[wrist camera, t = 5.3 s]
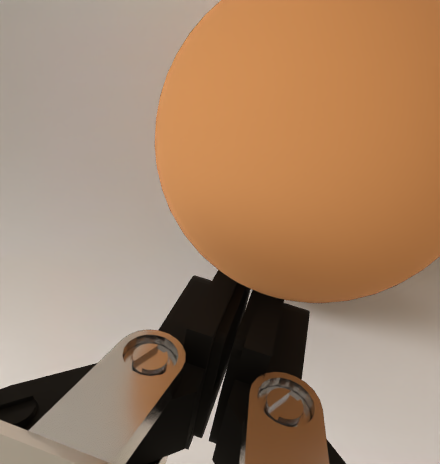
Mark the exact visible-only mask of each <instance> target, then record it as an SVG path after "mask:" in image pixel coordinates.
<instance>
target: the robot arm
mask: <svg viewBox="0 0 440 464" xmlns="http://www.w3.org/2000/svg"><path fill="white" fill-rule="evenodd" d="M249 293H250V288H248V287H246V286H244V285H242V284H240V283H238V282H236V281H235V280H233V279H231V278H230V277H228V276H227V275H225V274H224V273H222V272H221V271H220V270H218V271H217V273H216V275H215V277H214V279H213V281H211V280H208V279H204V278H201V277H198V276H193V277H192V278H191V280H190V281H189V283H188V285H187V286H186V288H185V289H184V291H183V292H182V294H181V296H180V297H179V299H178V300H177V302H176V303H175V305H174V307H173V308H172V310H171V311H170V313H169V314H168V316H167V318H166V319H165V321H164V322H163V324H162V325H161V327H160V329H159V330H142V331H137V332H134V333H131V334H129V335H128V336H126V337H125V338H123V339H122V340H121V341H120V342H119V343H118V344H117V345H116V346H115V347H114V348H113V349H112V350H111V351H110V352H109V353H108V354H106V355H105V356H104V357H103V358H102V359H101V360H100V361H99V362H98V363H96V364H92V365H88V366H84V367H81V368H77V369H73V370H69V371H65V372H61V373H57V374H53V375H50V376H46V377H42V378H38V379H34V380H30V381H26V382H23V383H19V384H15V385H11V386H8V387H5V388H3V389H0V464H165V463H166V461H167V458H168V455H170V454H173V453H175V452H178V451H180V450H183V449H185V448H186V449H189V447H190V444H191V441H192V439H193V436H197V437H200V438H202V436H203V434H204V431H205V428H206V425H207V423H208V420H209V417H210V414H211V411H212V409H213V406H214V403H215V400H216V397H217V394H218V392H219V389H220V386H221V383H222V380H223V377H224V375H225V378H224V382H223V386H222V390H221V394H220V398H219V402H218V406H217V410H216V414H215V418H214V422H213V426H212V429H211V433H210V437H209V441H210V442H213V443H216V447H215V451H214V455H213V459H212V460H213V462H214V463H215V464H346V463H345V462H344V461H343V459H342V458H341V457H340V456H339V454H338V453H337V452H336V450H335V449H334V448H333V447H332V445H331V444H330V443H329V442H328V440H327V439H326V433H325V424H324V416H323V409H322V405H321V402H320V399H319V398H318V396H317V394H316V393H315V391H314V390H313V389H312V388H311V387H310V386H309V385H308V384H307V383H306V382H304V381H302V380H301V379H302V371H303V363H304V355H305V347H306V339H307V331H308V322H309V313H310V312H309V311H308V310H305V309H302V308H298V307H295V306H292V305H289V304H286V303H284V299H279V298H276V297H272V296H268V295H265V294H263V293H260V292H257V291H255V290H252V293H251V296H250V299H249V301H248V297H249ZM247 301H248V304H247ZM246 305H247V307H246ZM245 308H246V310H245ZM226 369H227V370H226ZM225 372H226V374H225Z"/></svg>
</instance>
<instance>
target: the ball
mask: <svg viewBox="0 0 440 464" xmlns="http://www.w3.org/2000/svg"><path fill="white" fill-rule="evenodd" d="M155 153H156V164H157V170H158V174H159V178H160V183H161V187H162V190H163V193H164V195H165V198H166V200H167V203H168V206H169V208H170V211H171V213H172V214H173V216H174V218H175V220H176V221H177V223H178V225H179V227H180V228H181V230H182V232H183V233H184V235H185V236H186V237H187V238H188V240H189V241H190V242H191V243H192V244H193V246H194V247H195V248H196V249H197V251H198V252H199V253H200V254H201V255H202V256H203V257H204V258H205V259H206V260H208V261H209V262H210V263H211V264H212V265H214V266H215V267H216V268H217V269H218V270H220V271H221V272H222V273H224V274H225V275H227V276H228V277H230V278H231V279H233V280H235V281H236V282H238V283H240V284H242V285H244V286H246V287H248V288H250V289H252V290H255V291H257V292H260V293H263V294H265V295H268V296H272V297H276V298H279V299H284V300H290V301H298V302H307V303H328V302H340V301H349V300H353V299H357V298H361V297H365V296H369V295H373V294H376V293H379V292H381V291H384V290H386V289H388V288H391V287H393V286H396V285H398V284H400V283H401V282H403V281H405V280H407V279H408V278H410V277H412V276H413V275H415V274H417V273H419V272H420V271H422V270H423V269H425V268H426V267H427V266H428V265H430V264H431V263H432V262H433V261H435V260H436V259H437V258H438V257H440V0H221V1H220V2H219V3H218V4H216V5H215V6H214V7H213V8H212V9H211V10H210V11H209V12H208V13H207V14H206V15H205V16H204V17H203V18H202V19H201V21H200V22H199V23H198V24H197V25H196V26H195V28H194V29H193V30H192V31H191V32H190V34H189V35H188V37H187V38H186V40H185V42H184V43H183V45H182V46H181V48H180V50H179V51H178V53H177V54H176V57H175V59H174V61H173V63H172V65H171V67H170V69H169V72H168V74H167V76H166V80H165V83H164V86H163V89H162V92H161V95H160V100H159V106H158V111H157V117H156V129H155Z"/></svg>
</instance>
